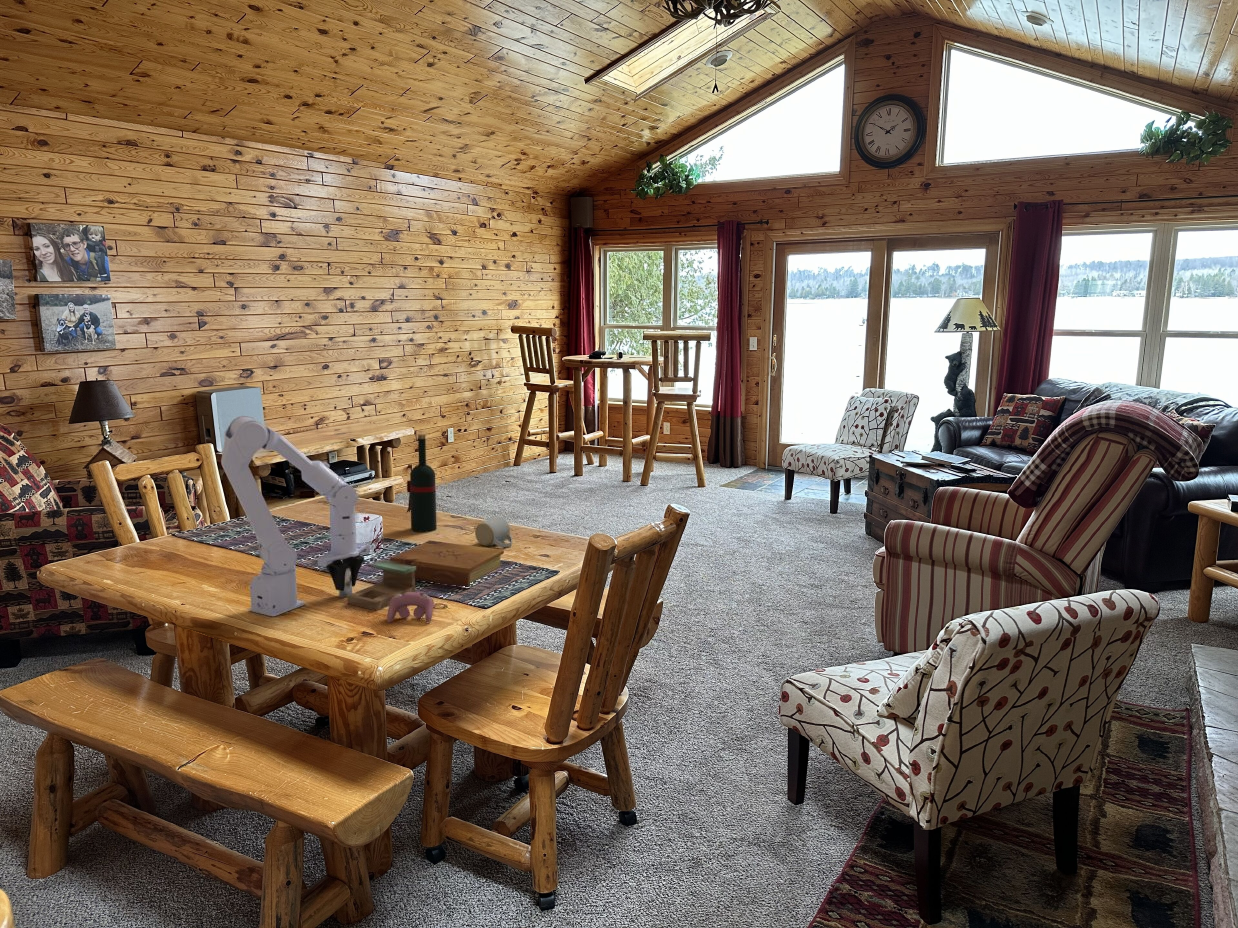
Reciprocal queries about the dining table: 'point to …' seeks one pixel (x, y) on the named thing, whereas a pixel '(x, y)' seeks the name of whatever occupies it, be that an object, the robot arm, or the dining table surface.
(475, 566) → the diary
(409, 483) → the wine bottle
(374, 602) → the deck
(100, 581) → the dining table surface
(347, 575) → the peg
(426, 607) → the video game controller
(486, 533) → the ceramic mug
